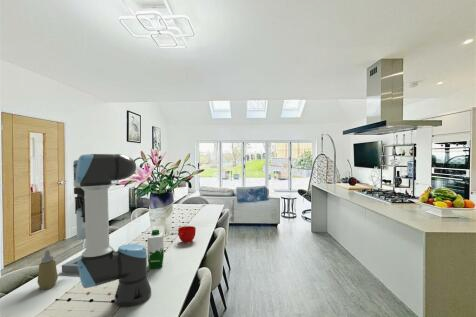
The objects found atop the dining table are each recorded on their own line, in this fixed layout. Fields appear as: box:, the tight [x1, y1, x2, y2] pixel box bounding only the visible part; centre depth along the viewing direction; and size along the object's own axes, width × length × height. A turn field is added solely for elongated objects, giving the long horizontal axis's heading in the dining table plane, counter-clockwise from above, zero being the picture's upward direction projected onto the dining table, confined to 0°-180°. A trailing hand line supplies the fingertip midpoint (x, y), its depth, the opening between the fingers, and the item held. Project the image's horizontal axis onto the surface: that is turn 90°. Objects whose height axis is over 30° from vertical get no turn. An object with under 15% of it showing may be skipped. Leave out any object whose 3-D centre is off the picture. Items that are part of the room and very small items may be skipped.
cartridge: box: [76, 208, 86, 240], centre depth 145 cm, size 5×5×17 cm
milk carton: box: [147, 229, 165, 270], centre depth 147 cm, size 9×9×20 cm
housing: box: [61, 249, 116, 274], centre depth 151 cm, size 24×16×4 cm, turn 173°
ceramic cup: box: [177, 225, 197, 244], centre depth 187 cm, size 13×17×10 cm
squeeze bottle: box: [37, 249, 59, 290], centre depth 124 cm, size 8×8×18 cm
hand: (82, 227), depth 145 cm, fingers closed on cartridge, 5 cm apart
